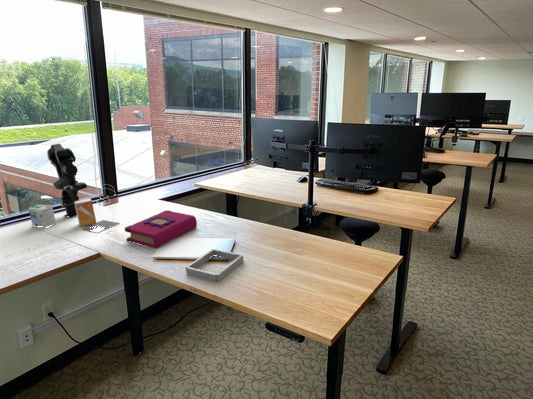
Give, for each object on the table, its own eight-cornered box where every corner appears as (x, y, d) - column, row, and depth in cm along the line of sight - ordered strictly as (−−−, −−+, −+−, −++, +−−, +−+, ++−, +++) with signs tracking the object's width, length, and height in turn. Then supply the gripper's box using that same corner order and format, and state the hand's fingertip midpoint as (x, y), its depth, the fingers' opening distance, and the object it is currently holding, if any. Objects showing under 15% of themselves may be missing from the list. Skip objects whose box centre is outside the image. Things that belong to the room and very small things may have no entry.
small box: (80, 227, 205) (75, 203, 201) (79, 224, 210) (73, 201, 206) (97, 223, 209) (91, 200, 205) (94, 220, 214) (89, 197, 210)
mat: (80, 229, 202) (80, 228, 202) (103, 220, 213) (103, 219, 213) (97, 233, 196) (97, 232, 196) (119, 223, 207) (119, 223, 207)
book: (197, 228, 196) (196, 214, 194) (156, 250, 174) (154, 234, 172) (167, 222, 207) (166, 209, 205) (125, 241, 185) (122, 227, 182)
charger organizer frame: (185, 274, 150) (184, 267, 149) (213, 254, 166) (212, 248, 165) (218, 282, 143) (217, 275, 142) (244, 261, 158) (243, 254, 158)
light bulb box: (32, 226, 209) (27, 208, 206) (43, 222, 215) (38, 204, 212) (46, 228, 205) (41, 209, 202) (57, 224, 211) (52, 205, 208)
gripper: (42, 174, 202) (49, 203, 207) (66, 177, 194) (72, 206, 199) (61, 170, 212) (67, 197, 216) (84, 172, 203) (90, 200, 208)
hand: (74, 200), depth 210 cm, fingers closed
